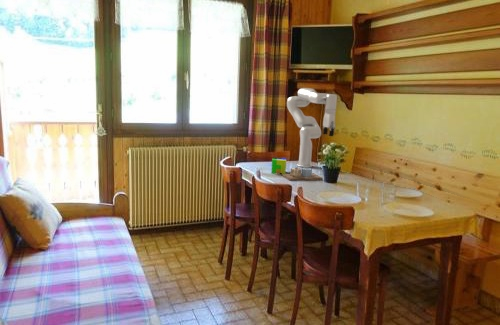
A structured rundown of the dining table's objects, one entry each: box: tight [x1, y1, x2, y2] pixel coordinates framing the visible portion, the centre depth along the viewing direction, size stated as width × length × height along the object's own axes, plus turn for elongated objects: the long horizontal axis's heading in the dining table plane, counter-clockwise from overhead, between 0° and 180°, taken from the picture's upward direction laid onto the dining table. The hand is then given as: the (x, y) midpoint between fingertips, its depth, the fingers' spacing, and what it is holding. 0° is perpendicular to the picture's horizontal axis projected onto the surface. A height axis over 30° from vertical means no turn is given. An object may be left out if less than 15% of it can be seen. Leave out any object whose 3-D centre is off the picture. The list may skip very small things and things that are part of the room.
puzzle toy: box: [271, 156, 287, 175], centre depth 285 cm, size 10×10×10 cm
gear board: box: [281, 166, 323, 182], centre depth 271 cm, size 14×24×8 cm, turn 105°
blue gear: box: [301, 167, 313, 177], centre depth 272 cm, size 7×7×5 cm
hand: (328, 135), depth 286 cm, fingers open, 9 cm apart
